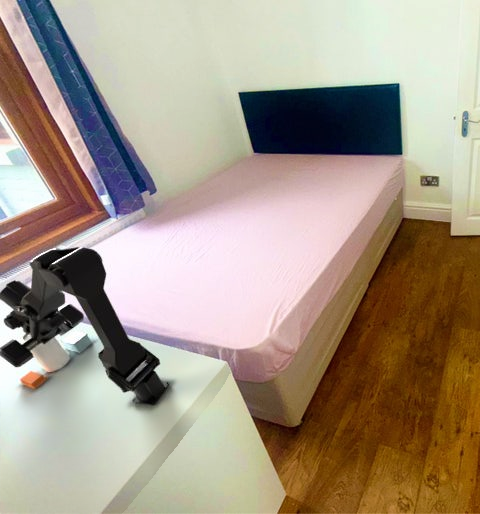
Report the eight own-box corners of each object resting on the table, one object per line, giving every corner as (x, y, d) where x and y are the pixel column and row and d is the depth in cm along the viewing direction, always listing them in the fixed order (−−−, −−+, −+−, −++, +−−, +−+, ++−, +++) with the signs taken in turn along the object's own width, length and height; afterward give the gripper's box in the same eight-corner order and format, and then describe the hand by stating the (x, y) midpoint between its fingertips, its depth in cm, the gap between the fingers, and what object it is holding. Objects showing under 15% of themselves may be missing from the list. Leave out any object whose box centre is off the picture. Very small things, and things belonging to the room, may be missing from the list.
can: (57, 373, 100) (32, 341, 94) (40, 372, 102) (14, 341, 96) (75, 355, 105) (52, 325, 99) (58, 355, 107) (35, 325, 101)
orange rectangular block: (47, 379, 99) (43, 374, 98) (35, 389, 96) (31, 384, 95) (35, 375, 101) (31, 370, 100) (23, 384, 99) (18, 379, 98)
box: (93, 342, 109) (87, 333, 107) (79, 353, 106) (73, 344, 104) (80, 339, 112) (74, 330, 110) (67, 349, 109) (60, 341, 107)
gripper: (54, 279, 96) (53, 306, 106) (-25, 325, 82) (-16, 352, 92) (87, 305, 97) (83, 330, 107) (15, 355, 83) (18, 379, 93)
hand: (44, 345), depth 100 cm, fingers open, 9 cm apart
